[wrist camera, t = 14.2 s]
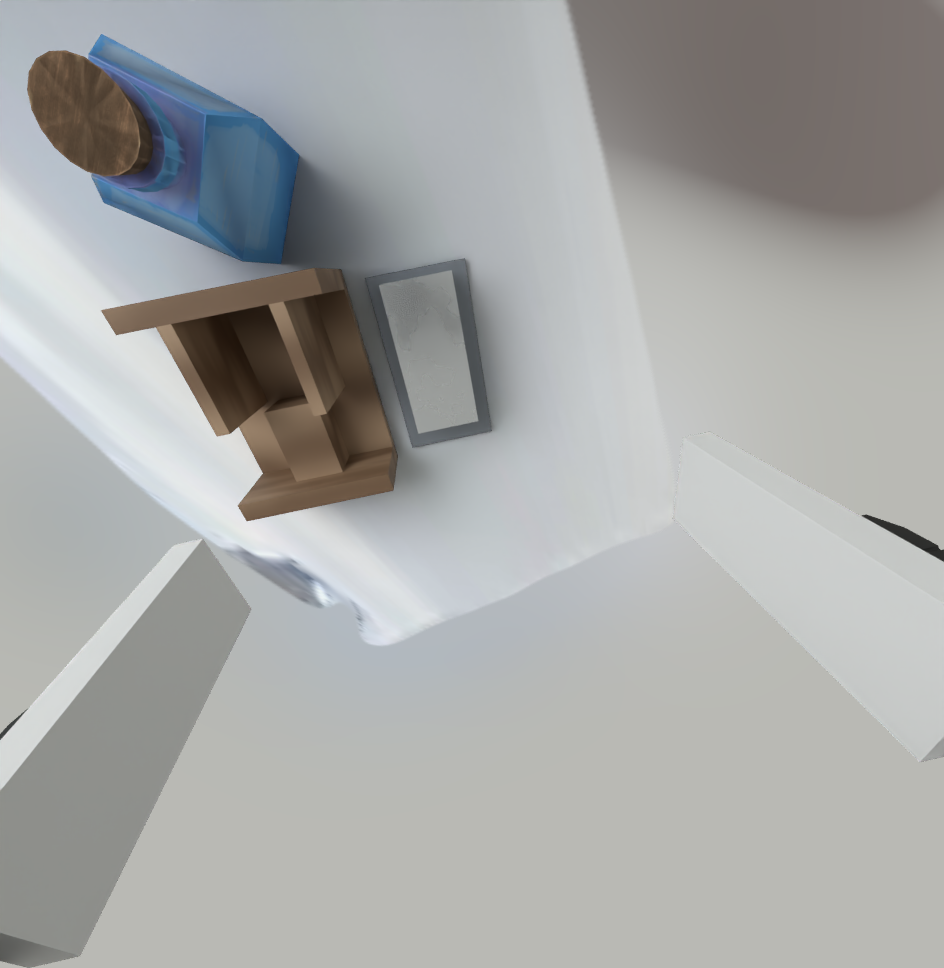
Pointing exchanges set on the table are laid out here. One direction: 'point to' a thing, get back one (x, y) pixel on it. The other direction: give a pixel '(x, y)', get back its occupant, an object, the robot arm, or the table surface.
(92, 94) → the perfume bottle
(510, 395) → the table surface
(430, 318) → the bar
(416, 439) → the slate pad
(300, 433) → the pocket jig
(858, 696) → the robot arm
